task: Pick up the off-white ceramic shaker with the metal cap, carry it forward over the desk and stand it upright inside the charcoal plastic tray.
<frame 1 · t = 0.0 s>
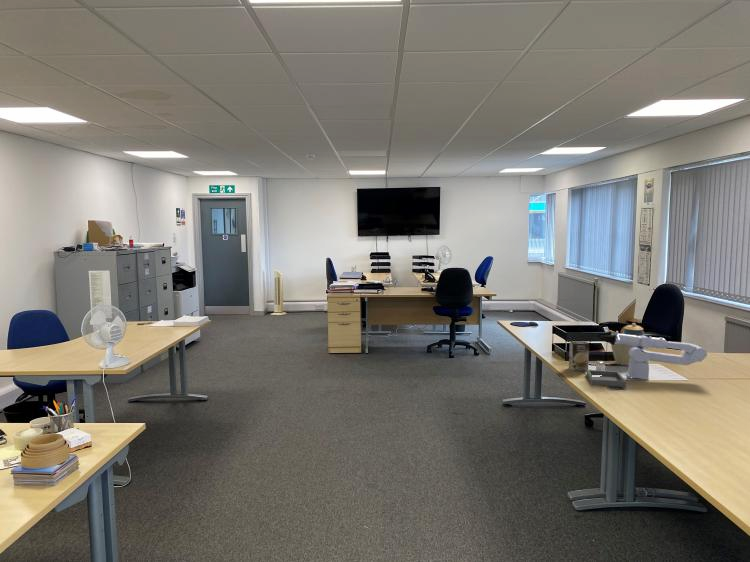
hand: (598, 336, 262), 22 cm above the table, tool horizontal, fingers open, 7 cm apart
shaker: (600, 372, 268), on the table
plant pot: (623, 364, 284), on the table
tray: (605, 380, 253), on the table
coffee box: (578, 369, 274), on the table
canister: (632, 349, 318), on the table
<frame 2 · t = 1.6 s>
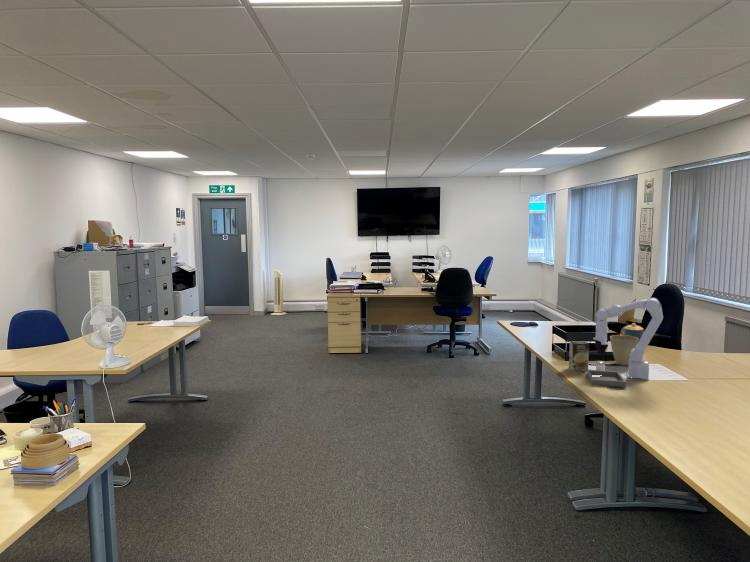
hand: (600, 354, 267), 10 cm above the table, tool pointing down, fingers open, 7 cm apart
nothing on the table moved.
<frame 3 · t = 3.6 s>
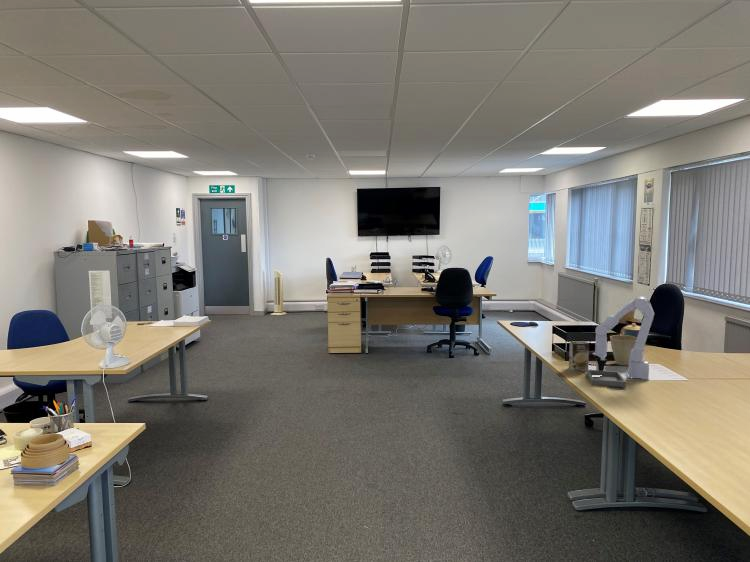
hand: (600, 369, 268), 2 cm above the table, tool pointing down, fingers closed on shaker, 4 cm apart
shaker: (600, 372, 268), on the table, touching gripper
everything else where it was.
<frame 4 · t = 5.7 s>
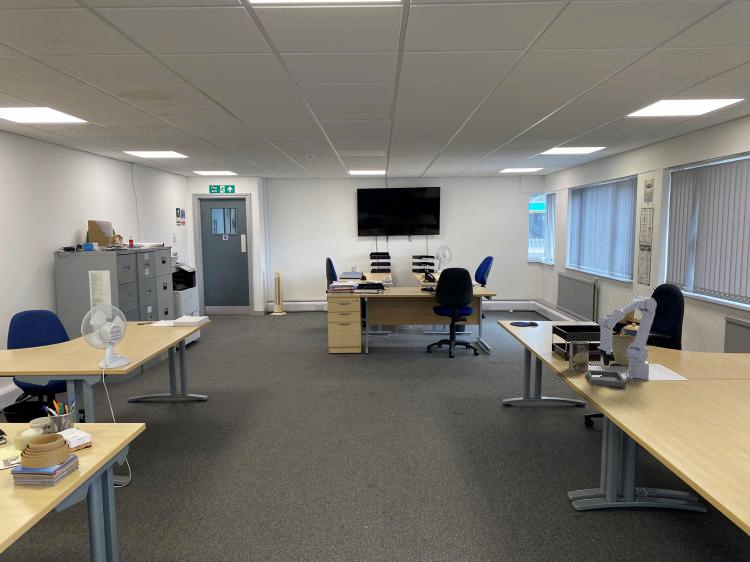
hand: (605, 364, 253), 9 cm above the table, tool pointing down, fingers closed on shaker, 4 cm apart
shaker: (605, 367, 253), point 7 cm above the table, touching gripper
everything else where it was.
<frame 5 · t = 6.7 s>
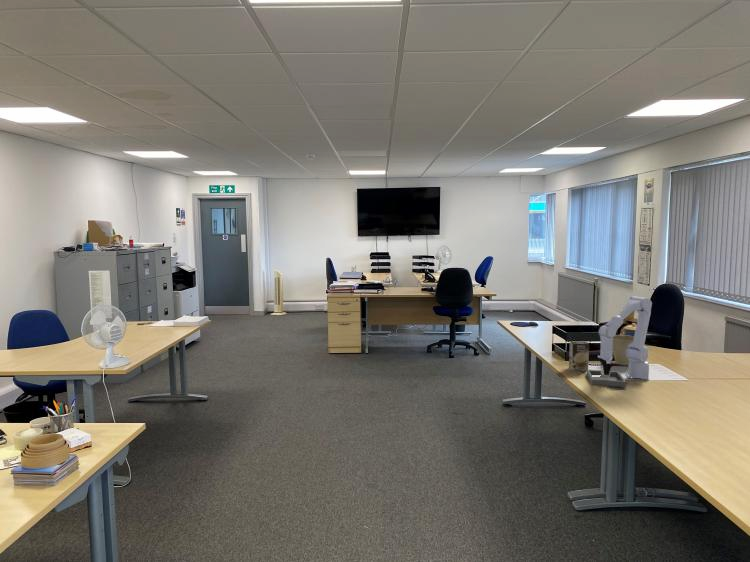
hand: (605, 373, 252), 4 cm above the table, tool pointing down, fingers closed on shaker, 4 cm apart
shaker: (605, 376, 252), point 2 cm above the table, touching gripper
everything else where it was.
when the fingers open (3 cm above the table, at t = 7.8 s): shaker stays where it is, resting on tray.
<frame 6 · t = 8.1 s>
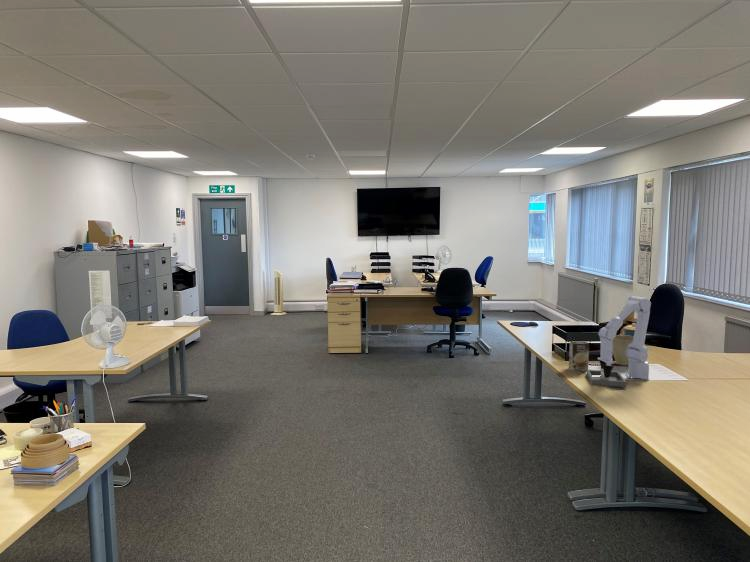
hand: (605, 375, 252), 3 cm above the table, tool pointing down, fingers open, 7 cm apart
shaker: (605, 380, 253), resting on tray
everything else where it was.
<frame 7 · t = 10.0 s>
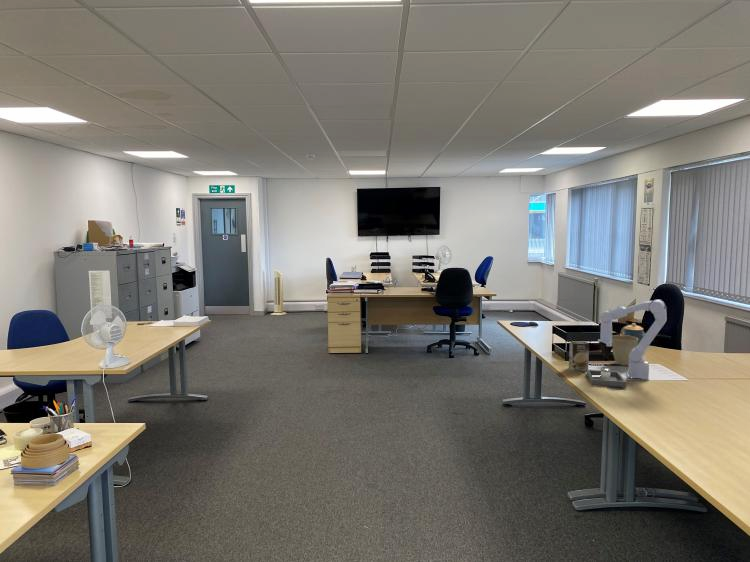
hand: (605, 356, 267), 9 cm above the table, tool pointing down, fingers open, 7 cm apart
nothing on the table moved.
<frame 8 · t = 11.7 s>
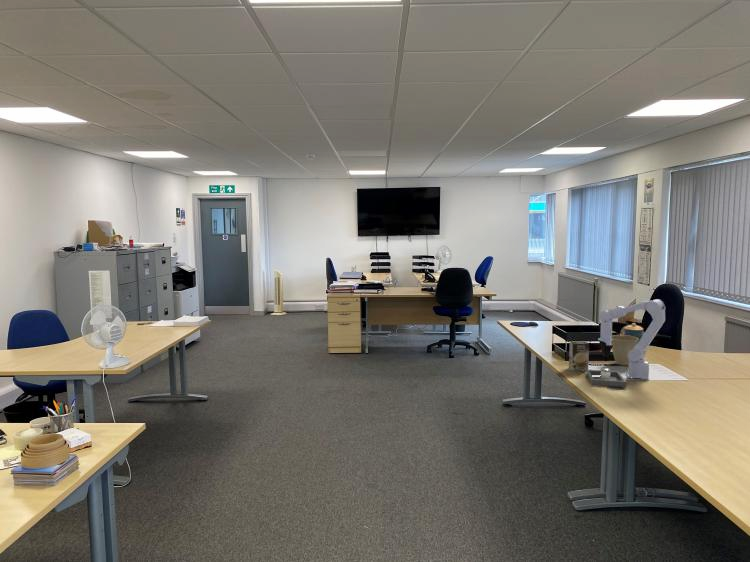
hand: (605, 354, 269), 9 cm above the table, tool pointing down, fingers open, 7 cm apart
nothing on the table moved.
at the end: shaker inside the target area on the tray (0.1 cm from its centre), point 0.5 cm above the tray's base; shaker tilted 0°; the gripper is holding nothing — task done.
